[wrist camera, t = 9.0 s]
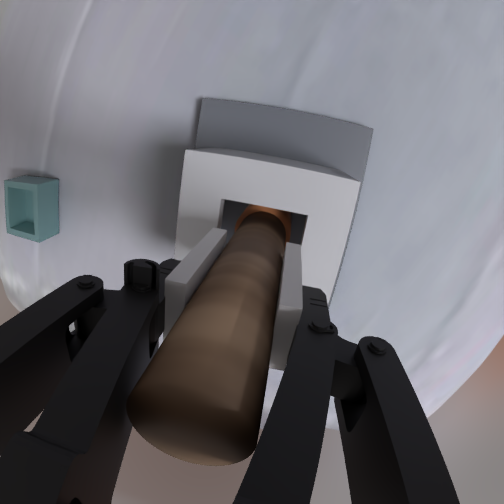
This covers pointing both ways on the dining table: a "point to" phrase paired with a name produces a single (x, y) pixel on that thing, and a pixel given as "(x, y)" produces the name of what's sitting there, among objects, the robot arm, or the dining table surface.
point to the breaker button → (281, 214)
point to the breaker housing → (275, 179)
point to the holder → (32, 207)
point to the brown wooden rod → (216, 355)
